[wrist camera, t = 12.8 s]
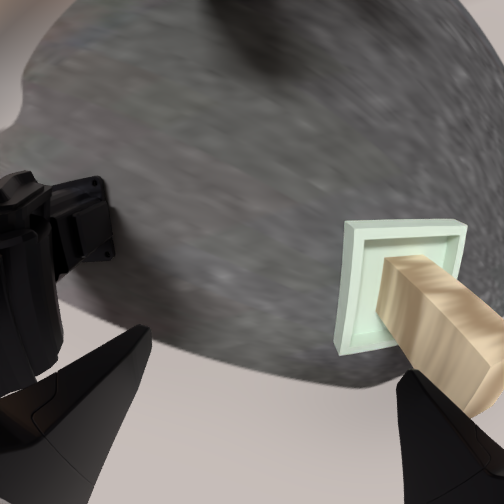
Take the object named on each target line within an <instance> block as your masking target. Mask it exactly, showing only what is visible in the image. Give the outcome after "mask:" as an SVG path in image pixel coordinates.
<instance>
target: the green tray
mask: <svg viewBox="0 0 504 504" xmlns="http://www.w3.org/2000/svg"><path fill="white" fill-rule="evenodd" d="M466 232H467V225H465V224H463V223H461V222H459V221H457V220H455V219H396V220H357V221H345V223H344V243H343V258H342V270H341V281H340V292H339V301H338V310H337V318H336V326H335V333H334V340H333V342H334V344H335V347H336V349H337V352H338V354H339V356H342V355H348V354H354V353H360V352H366V351H371V350H376V349H382V348H387V347H391V346H396V345H398V343H397V342H396V340H395V339H394V337H393V336H392V335H391V333H390V332H389V330H388V329H387V327H386V326H385V324H384V323H383V321H382V320H381V319H380V317H379V316H378V314H377V313H376V306H377V300H378V295H379V289H380V283H381V277H382V270H383V263H384V257H397V256H410V255H422V254H423V255H425V256H426V257H427V258H429V259H430V260H431V261H433V262H434V263H436V264H437V265H438V266H440V267H441V268H442V269H444V270H445V271H446V272H447V273H449V274H450V275H451V276H453V277H454V278H455V279H456V280H457V276H458V272H459V268H460V264H461V259H462V254H463V249H464V244H465V238H466Z"/></svg>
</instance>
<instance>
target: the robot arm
mask: <svg viewBox="0 0 504 504" xmlns="http://www.w3.org/2000/svg"><path fill="white" fill-rule="evenodd" d="M95 180H96V181H97V185H95V184H94V181H95ZM112 235H113V233H112V228H111V223H110V217H109V211H108V205H107V203H106V202H105V196H104V189H103V181H102V178H101V177H100V176H92V177H87V178H83V179H78V180H74V181H69V182H65V183H61V184H57V185H53V186H48V185H43V184H39V183H37V180H35V178H34V176H33V174H32V172H31V171H25V170H24V171H20V172H16V173H12V174H9V175H6V176H4V177H2V178H1V179H0V504H87V503H88V501H89V498H90V496H91V493H92V491H93V488H94V485H95V483H96V481H97V478H98V476H99V474H100V472H101V469H102V466H103V465H104V462H105V460H106V458H107V455H108V453H109V451H110V448H111V446H112V444H113V442H114V440H115V437H116V435H117V433H118V431H119V429H120V426H121V424H122V422H123V420H124V418H125V416H126V413H127V411H128V409H129V407H130V405H131V403H132V401H133V399H134V397H135V394H136V392H137V390H138V387H139V385H140V382H141V379H142V375H143V373H144V370H145V367H146V364H147V361H148V358H149V356H150V353H151V349H152V336H151V328H150V327H148V326H145V325H141V324H138V325H136V326H134V327H132V328H131V329H129V330H127V331H126V332H124V333H122V334H121V335H119V336H117V337H115V338H114V339H112V340H110V341H108V342H107V343H105V344H103V345H102V346H100V347H98V348H97V349H95V350H93V351H91V352H90V353H88V354H86V355H84V356H83V357H81V358H79V359H78V360H76V361H74V362H72V363H71V364H69V365H67V366H65V367H64V368H62V369H60V370H58V372H55V373H53V374H51V375H50V376H48V377H46V378H44V379H42V380H40V381H39V382H37V380H36V378H35V376H38V375H40V374H42V373H43V372H45V371H46V370H48V369H49V368H51V367H52V366H53V365H54V364H55V363H56V362H57V361H58V353H59V351H60V349H61V346H62V344H63V327H62V321H61V315H60V309H59V304H58V297H57V290H56V283H57V282H58V281H60V280H61V279H62V278H63V277H64V276H65V275H66V274H67V273H69V272H70V271H71V270H72V269H73V268H74V267H76V266H77V265H78V264H79V263H80V262H95V261H109V260H111V259H112V258H113V257H114V256H115V250H114V246H113V241H112ZM107 252H109V253H110V256H109V255H108V254H107ZM21 389H22V390H21ZM17 390H19V391H17ZM14 391H17V392H15V393H12V394H10V395H8V396H5V395H6V394H8V393H10V392H14ZM396 395H397V413H398V427H399V436H400V445H401V455H402V467H403V481H404V504H504V449H503V448H502V447H501V446H499V445H498V444H497V443H496V442H495V441H494V440H492V439H491V438H490V437H489V436H488V435H487V434H486V433H485V432H484V431H482V430H481V429H480V428H479V427H478V426H477V425H476V424H475V423H474V422H473V421H472V420H471V419H470V418H469V417H468V416H467V415H466V414H465V413H464V412H463V411H462V410H461V409H460V408H459V407H458V406H457V405H456V404H455V403H453V402H452V401H451V400H450V399H449V398H448V397H447V396H446V395H445V394H444V393H443V392H442V391H441V390H440V389H439V388H438V387H437V386H436V385H434V384H433V383H432V382H431V381H430V380H429V379H428V378H427V377H426V376H425V375H424V374H423V373H422V372H421V371H419V370H418V369H409V370H407V371H406V373H405V374H404V375H403V377H402V378H401V380H400V381H399V382H398V384H397V387H396ZM3 396H5V397H3ZM1 397H3V398H1Z"/></svg>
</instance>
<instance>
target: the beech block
mask: <svg viewBox="0 0 504 504" xmlns="http://www.w3.org/2000/svg"><path fill="white" fill-rule="evenodd" d="M376 313H377V314H378V316H379V317H380V319H381V320H382V321H383V323H384V324H385V326H386V327H387V329H388V330H389V332H390V333H391V335H392V336H393V337H394V339H395V340H396V342H397V343H398V345H399V346H400V348H401V349H402V351H403V352H404V354H405V356H406V357H407V359H408V360H409V362H410V363H411V365H412V366H413V368H414V369H418V370H419V371H421V372H422V373H423V374H424V375H425V376H426V377H427V378H428V379H429V380H430V381H431V382H432V383H433V384H434V385H436V386H437V387H438V388H439V389H440V390H441V391H442V392H443V393H444V394H445V395H446V396H447V397H448V398H449V399H450V400H451V401H452V402H453V403H455V404H456V405H457V406H458V407H459V408H460V409H461V410H462V411H463V412H464V413H465V414H466V415H467V416H468V417H469V418H470V419H471V418H472V417H474V416H476V415H478V414H480V413H481V412H483V411H485V410H487V409H488V408H490V407H491V406H493V405H494V403H495V402H496V400H497V399H498V397H499V396H500V394H501V393H502V391H503V390H504V320H503V319H502V318H501V317H500V316H499V315H498V314H497V313H496V312H495V311H494V310H492V309H491V308H490V307H489V306H488V305H487V304H486V303H484V302H483V301H482V300H481V299H480V298H479V297H477V296H476V295H475V294H474V293H473V292H471V291H470V290H469V289H468V288H466V287H465V286H464V285H463V284H461V283H460V282H459V281H458V280H456V279H455V278H454V277H453V276H451V275H450V274H449V273H447V272H446V271H445V270H444V269H442V268H441V267H440V266H438V265H437V264H436V263H434V262H433V261H431V260H430V259H429V258H427V257H426V256H425V255H423V254H422V255H410V256H397V257H384V263H383V270H382V277H381V283H380V289H379V295H378V300H377V306H376Z"/></svg>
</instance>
